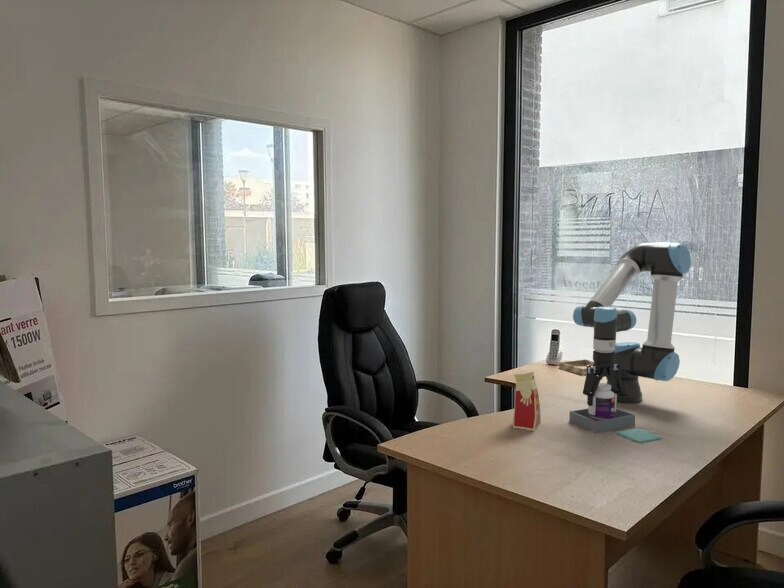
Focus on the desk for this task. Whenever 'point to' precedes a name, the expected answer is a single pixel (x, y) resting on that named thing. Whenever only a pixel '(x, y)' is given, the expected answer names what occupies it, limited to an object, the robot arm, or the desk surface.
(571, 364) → the wooden square tray
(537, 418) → the milk carton
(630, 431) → the pad
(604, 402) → the pill bottle
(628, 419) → the rectangular frame
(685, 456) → the desk surface
